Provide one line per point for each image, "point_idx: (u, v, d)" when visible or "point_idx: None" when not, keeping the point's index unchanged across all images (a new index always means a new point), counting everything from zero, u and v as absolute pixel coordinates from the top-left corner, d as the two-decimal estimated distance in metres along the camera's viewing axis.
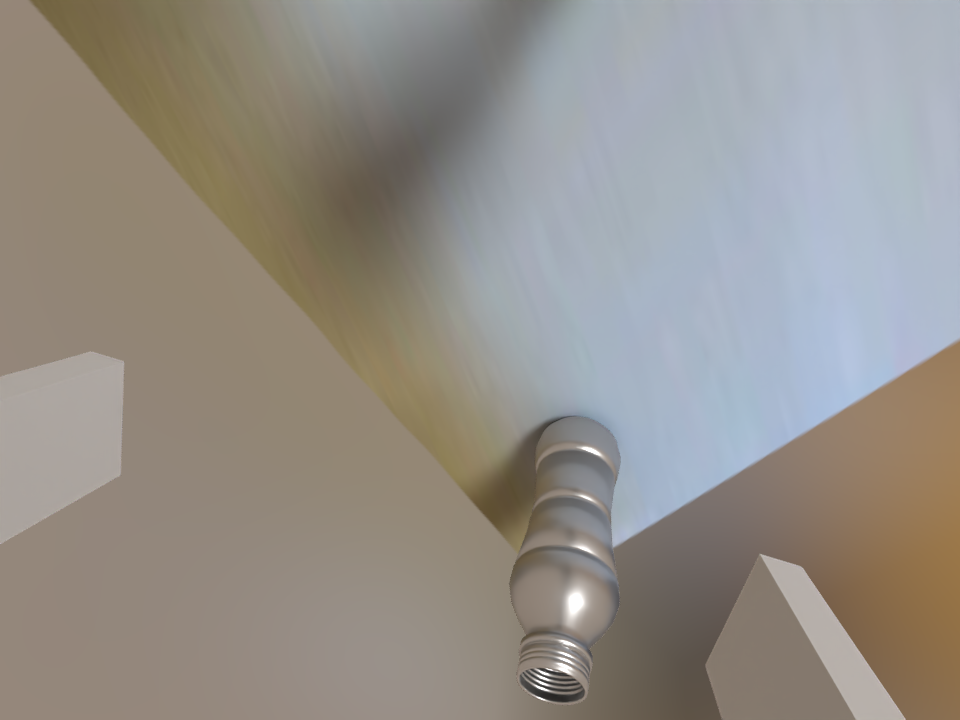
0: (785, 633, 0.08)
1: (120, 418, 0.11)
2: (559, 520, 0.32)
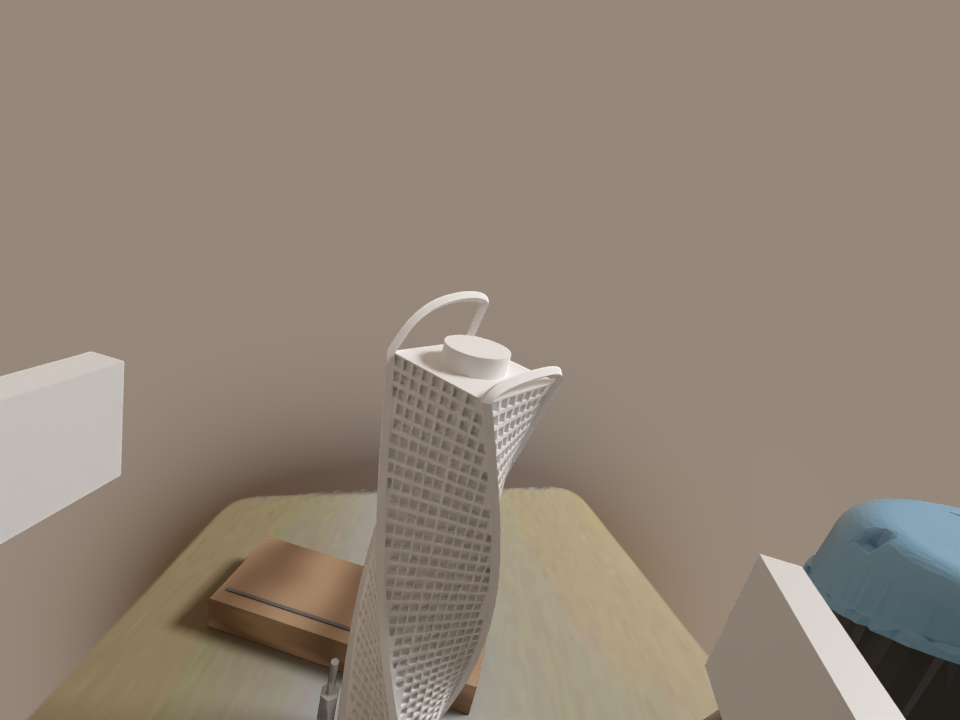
0: (784, 634, 0.08)
1: (120, 418, 0.11)
2: None
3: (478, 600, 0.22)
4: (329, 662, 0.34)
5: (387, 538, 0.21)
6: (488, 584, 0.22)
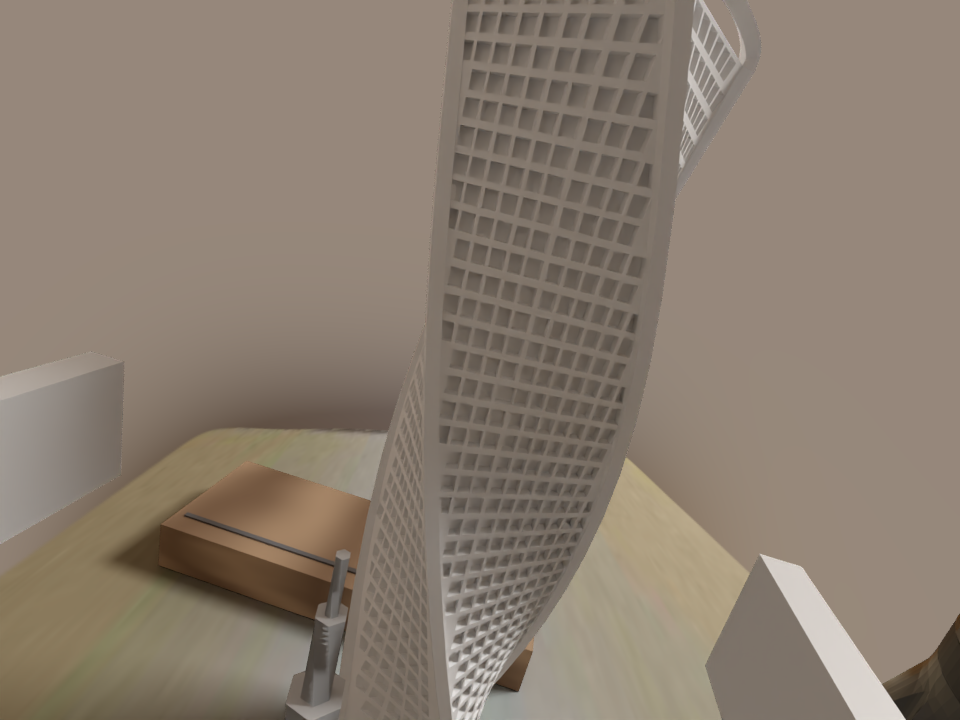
0: (784, 633, 0.08)
1: (120, 418, 0.11)
2: None
3: (593, 461, 0.13)
4: None
5: (444, 329, 0.12)
6: (616, 426, 0.12)
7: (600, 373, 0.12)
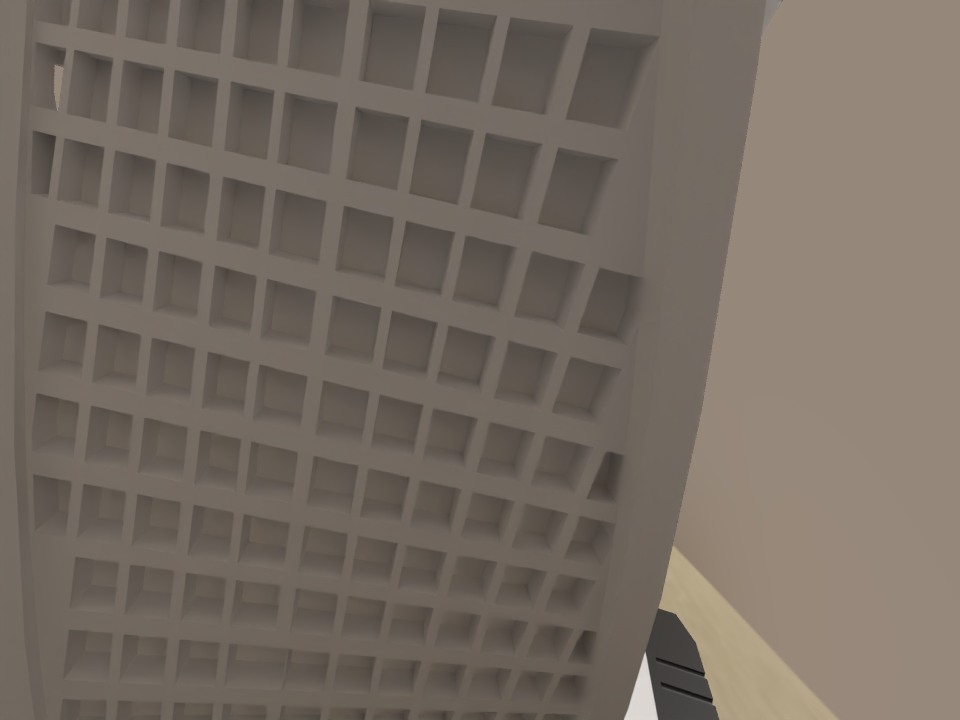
0: None
1: None
2: None
3: None
4: None
5: (68, 490, 0.04)
6: (578, 709, 0.05)
7: (525, 590, 0.04)
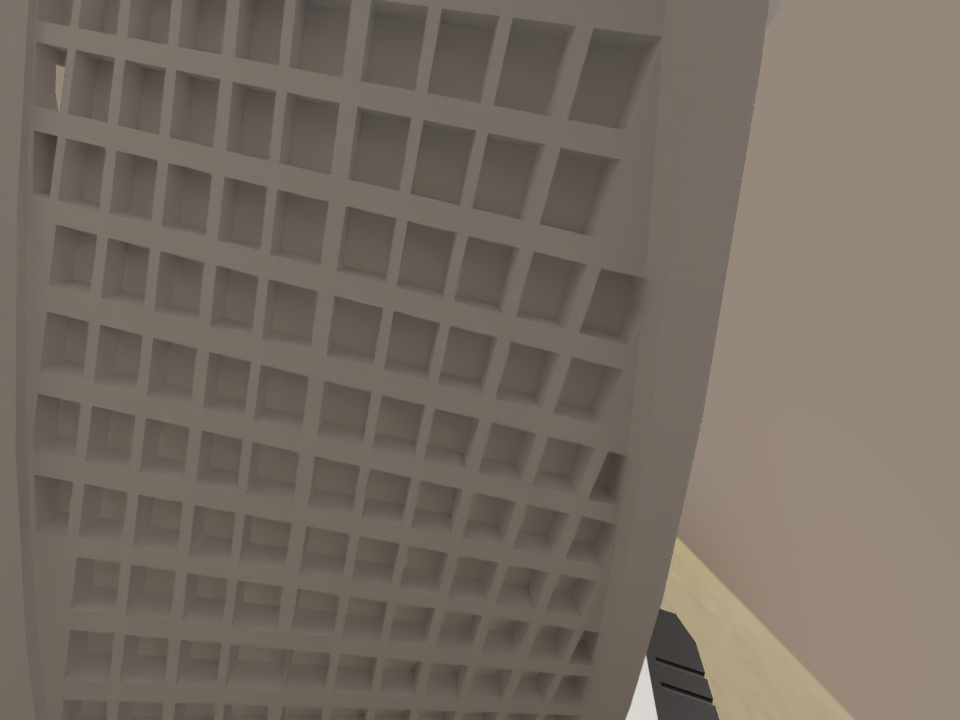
0: None
1: None
2: None
3: None
4: None
5: (69, 490, 0.04)
6: (579, 710, 0.05)
7: (527, 591, 0.04)
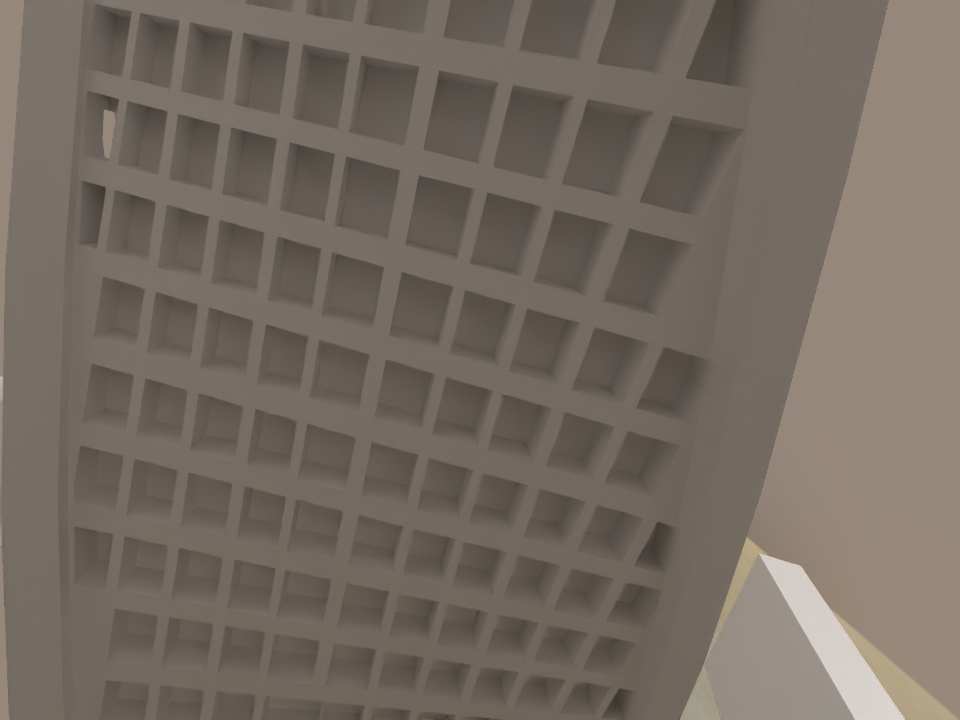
0: (783, 633, 0.08)
1: None
2: None
3: None
4: None
5: (106, 538, 0.04)
6: None
7: (562, 646, 0.04)
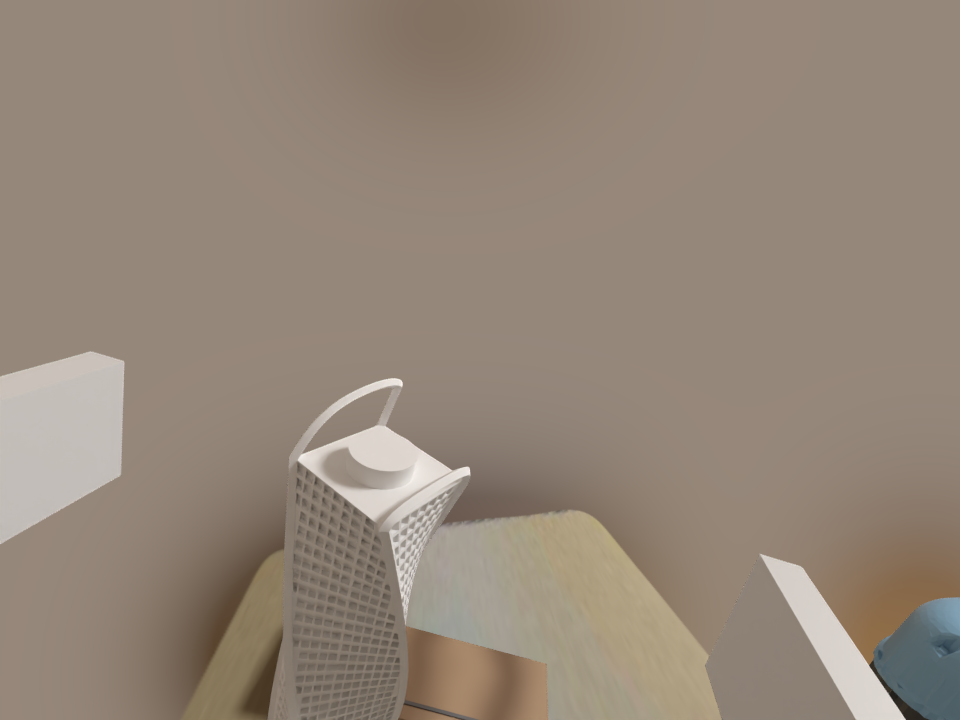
0: (784, 633, 0.08)
1: (120, 418, 0.11)
2: None
3: (390, 683, 0.23)
4: None
5: None
6: (399, 671, 0.22)
7: (385, 650, 0.22)
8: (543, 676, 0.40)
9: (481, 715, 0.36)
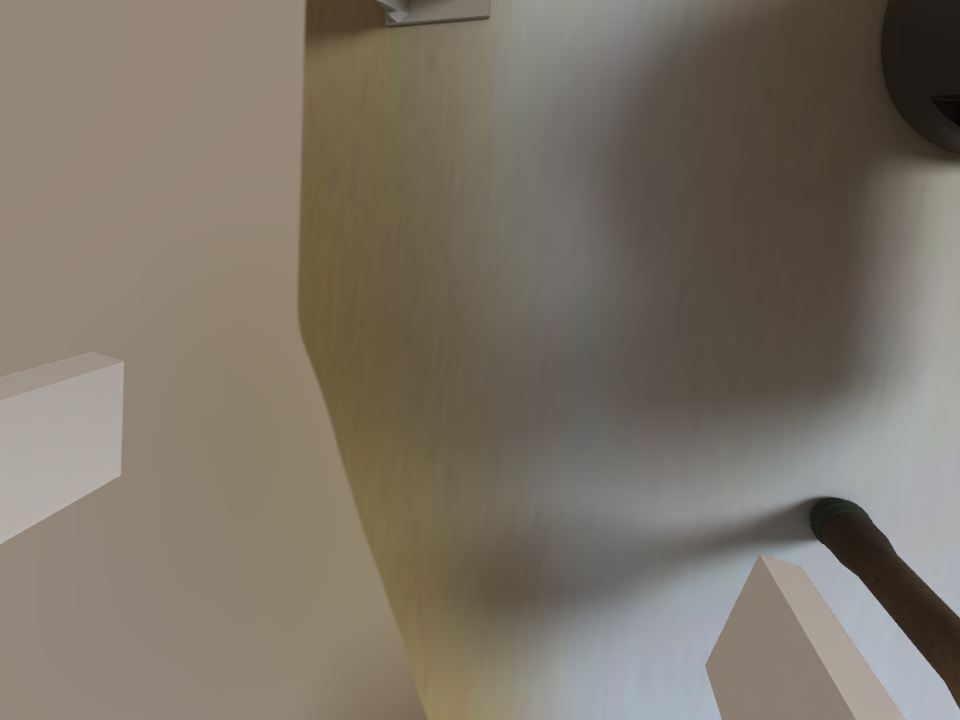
0: (784, 634, 0.08)
1: (120, 418, 0.11)
2: None
3: None
4: None
5: None
6: None
7: None
8: None
9: None
